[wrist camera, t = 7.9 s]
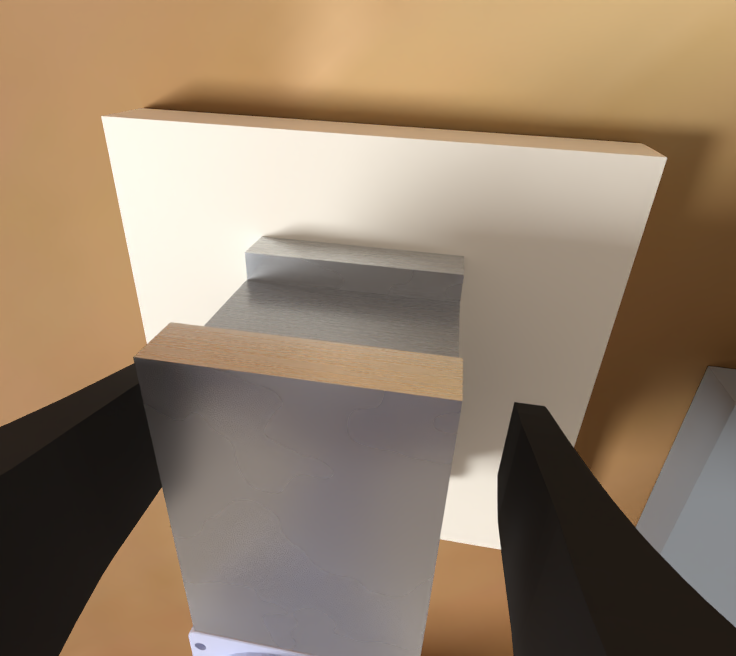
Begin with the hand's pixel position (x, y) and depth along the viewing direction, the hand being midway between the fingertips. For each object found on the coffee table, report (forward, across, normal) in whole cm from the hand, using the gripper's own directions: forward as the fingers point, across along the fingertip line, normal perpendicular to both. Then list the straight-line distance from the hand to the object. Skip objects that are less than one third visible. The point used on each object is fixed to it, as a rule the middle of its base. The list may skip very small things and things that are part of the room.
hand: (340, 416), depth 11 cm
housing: (+2, 0, 0) cm, 2 cm away
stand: (+3, 0, 0) cm, 3 cm away
